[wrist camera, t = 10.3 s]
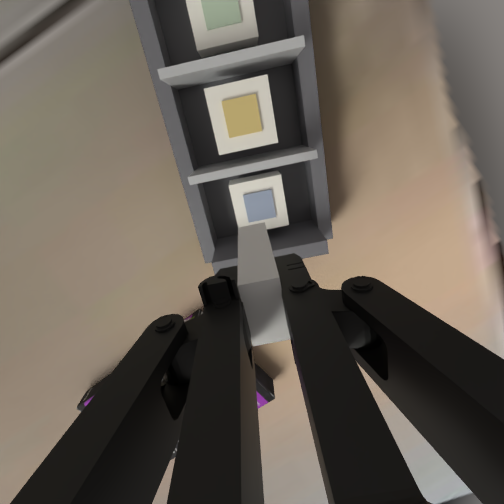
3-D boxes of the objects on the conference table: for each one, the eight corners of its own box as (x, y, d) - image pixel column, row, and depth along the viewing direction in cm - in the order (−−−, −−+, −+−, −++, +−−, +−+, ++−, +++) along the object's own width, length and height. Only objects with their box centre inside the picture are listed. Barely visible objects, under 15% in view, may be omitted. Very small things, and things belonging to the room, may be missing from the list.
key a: (201, 58, 24) (196, 50, 21) (185, -12, 22) (178, -30, 19) (257, 45, 23) (258, 35, 21) (245, -27, 22) (245, -47, 19)
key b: (240, 226, 29) (239, 235, 26) (229, 180, 27) (228, 185, 25) (285, 216, 29) (289, 225, 26) (277, 170, 27) (281, 174, 24)
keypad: (208, 251, 31) (201, 278, 25) (91, -169, 20) (30, -286, 14) (324, 228, 30) (343, 250, 25) (273, -220, 19) (286, -363, 13)
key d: (221, 152, 24) (219, 155, 22) (207, 92, 23) (203, 88, 20) (274, 141, 24) (278, 142, 22) (264, 79, 23) (267, 73, 20)
